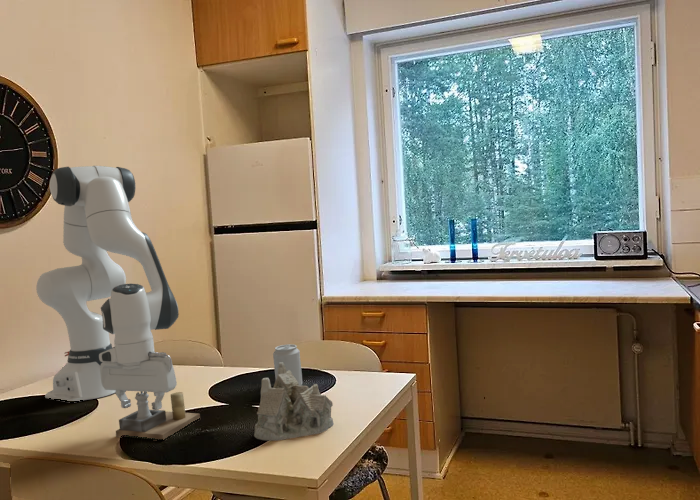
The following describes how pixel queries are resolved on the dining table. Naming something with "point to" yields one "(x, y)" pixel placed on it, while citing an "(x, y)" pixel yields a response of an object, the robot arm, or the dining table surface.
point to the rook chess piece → (142, 406)
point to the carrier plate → (158, 421)
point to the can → (288, 360)
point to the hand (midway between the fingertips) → (141, 408)
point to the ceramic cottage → (291, 409)
